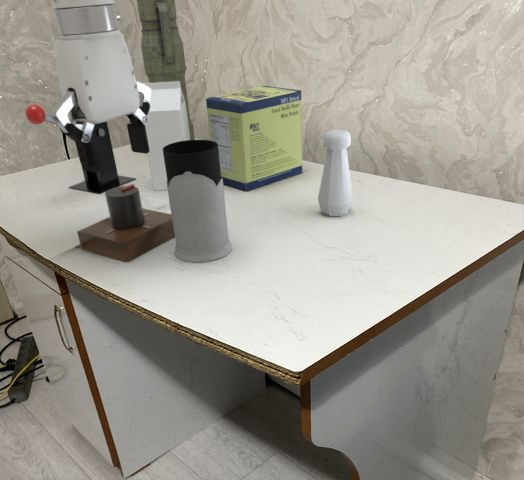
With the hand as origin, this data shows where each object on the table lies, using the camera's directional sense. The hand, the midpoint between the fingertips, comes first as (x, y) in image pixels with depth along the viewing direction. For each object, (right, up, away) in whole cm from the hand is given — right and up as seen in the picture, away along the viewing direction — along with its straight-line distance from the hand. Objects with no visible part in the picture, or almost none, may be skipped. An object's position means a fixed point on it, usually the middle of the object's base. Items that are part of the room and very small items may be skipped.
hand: (117, 161), depth 78 cm
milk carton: (+4, +4, +28) cm, 28 cm away
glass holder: (+12, -11, +5) cm, 17 cm away
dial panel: (0, -10, +7) cm, 12 cm away
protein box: (+20, +8, +31) cm, 38 cm away
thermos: (+1, +18, +48) cm, 51 cm away
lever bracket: (-11, +5, +30) cm, 33 cm away
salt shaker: (+33, -4, +13) cm, 36 cm away
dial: (0, -8, +5) cm, 9 cm away
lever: (-15, +12, +19) cm, 27 cm away
